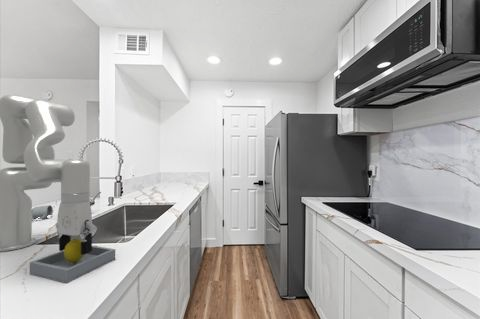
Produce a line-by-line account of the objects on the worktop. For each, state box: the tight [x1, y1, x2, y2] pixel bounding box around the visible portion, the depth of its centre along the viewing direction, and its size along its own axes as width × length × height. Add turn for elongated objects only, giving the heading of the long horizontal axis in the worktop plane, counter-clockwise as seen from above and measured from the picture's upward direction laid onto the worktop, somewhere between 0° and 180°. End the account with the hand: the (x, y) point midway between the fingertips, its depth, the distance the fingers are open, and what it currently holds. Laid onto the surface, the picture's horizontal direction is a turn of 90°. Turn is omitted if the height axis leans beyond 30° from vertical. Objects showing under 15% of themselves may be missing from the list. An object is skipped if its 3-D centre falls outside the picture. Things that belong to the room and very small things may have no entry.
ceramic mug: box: [32, 204, 54, 220], centre depth 133 cm, size 11×8×8 cm
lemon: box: [64, 238, 84, 263], centre depth 73 cm, size 6×6×8 cm
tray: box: [29, 245, 116, 284], centre depth 73 cm, size 16×16×4 cm
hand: (75, 251), depth 73 cm, fingers open, 9 cm apart
